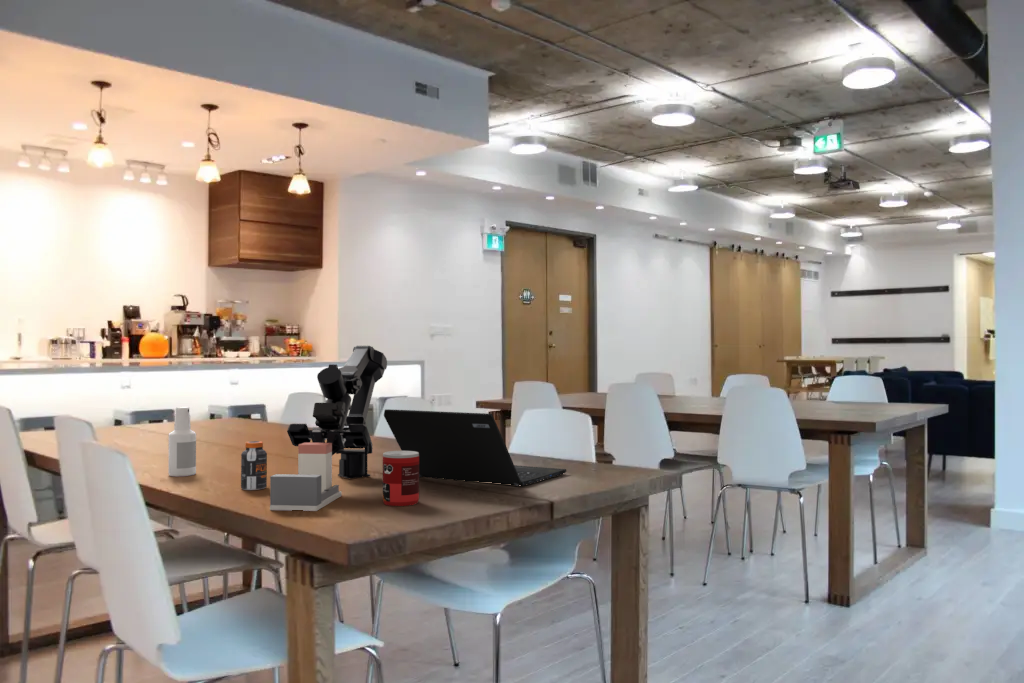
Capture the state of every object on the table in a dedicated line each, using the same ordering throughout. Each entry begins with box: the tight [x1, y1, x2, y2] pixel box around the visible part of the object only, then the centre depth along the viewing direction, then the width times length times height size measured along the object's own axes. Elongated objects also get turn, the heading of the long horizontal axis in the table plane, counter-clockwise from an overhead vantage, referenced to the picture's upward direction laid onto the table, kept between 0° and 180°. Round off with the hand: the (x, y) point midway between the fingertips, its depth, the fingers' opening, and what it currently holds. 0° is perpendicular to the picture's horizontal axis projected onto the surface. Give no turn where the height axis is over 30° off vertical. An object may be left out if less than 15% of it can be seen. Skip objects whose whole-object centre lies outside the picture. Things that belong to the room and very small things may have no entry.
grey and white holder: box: [269, 473, 343, 512], centre depth 174 cm, size 17×10×7 cm, turn 175°
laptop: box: [383, 408, 567, 487], centre depth 205 cm, size 33×38×19 cm
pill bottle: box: [240, 440, 268, 491], centre depth 191 cm, size 6×6×11 cm
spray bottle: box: [167, 406, 197, 478], centre depth 211 cm, size 7×7×18 cm
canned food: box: [382, 450, 420, 507], centre depth 173 cm, size 8×8×11 cm
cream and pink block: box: [297, 442, 333, 492], centre depth 179 cm, size 4×6×11 cm, turn 85°
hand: (320, 463), depth 182 cm, fingers closed
